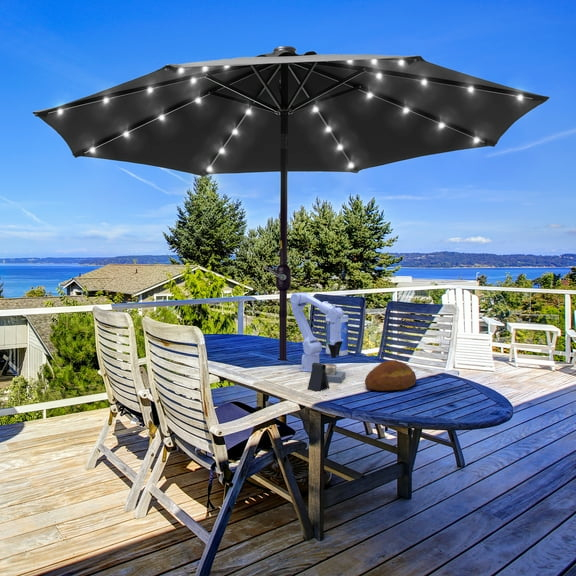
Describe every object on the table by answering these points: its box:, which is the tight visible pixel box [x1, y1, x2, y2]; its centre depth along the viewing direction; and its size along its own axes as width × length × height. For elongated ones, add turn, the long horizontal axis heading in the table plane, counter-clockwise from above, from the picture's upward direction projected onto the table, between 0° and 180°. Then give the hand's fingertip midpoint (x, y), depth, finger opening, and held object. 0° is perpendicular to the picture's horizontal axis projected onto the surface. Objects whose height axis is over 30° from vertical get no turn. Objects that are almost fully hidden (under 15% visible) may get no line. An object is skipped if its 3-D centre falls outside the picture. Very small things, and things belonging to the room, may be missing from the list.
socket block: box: [327, 370, 346, 384], centre depth 237 cm, size 13×12×3 cm
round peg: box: [324, 363, 337, 367], centre depth 248 cm, size 6×6×5 cm
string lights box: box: [325, 314, 349, 357], centre depth 303 cm, size 13×8×26 cm, turn 49°
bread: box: [364, 359, 417, 392], centre depth 225 cm, size 21×33×12 cm, turn 127°
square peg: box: [326, 365, 337, 375], centre depth 237 cm, size 4×4×6 cm
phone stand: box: [307, 362, 330, 392], centre depth 219 cm, size 9×6×12 cm, turn 137°
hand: (335, 356), depth 246 cm, fingers open, 7 cm apart
